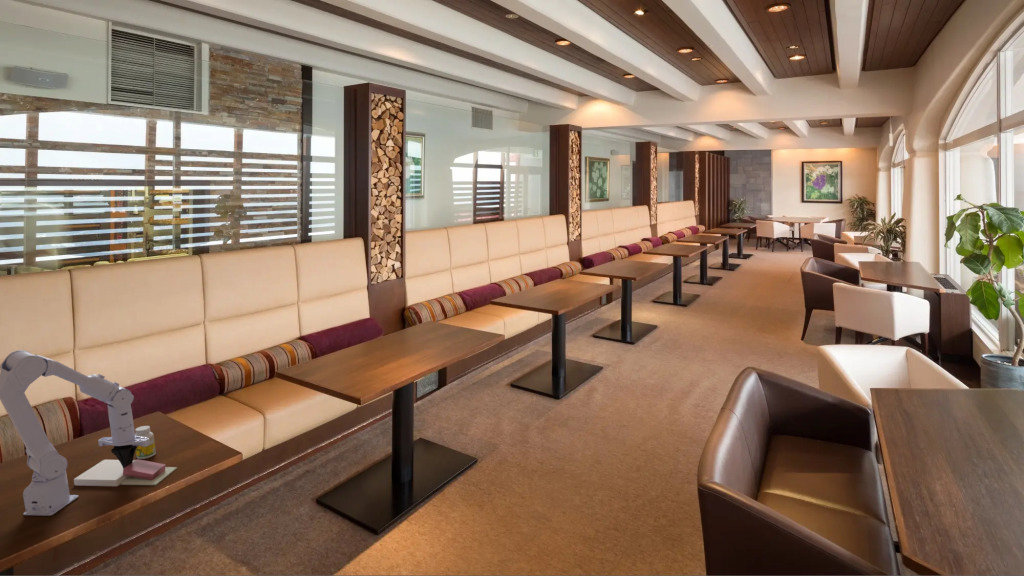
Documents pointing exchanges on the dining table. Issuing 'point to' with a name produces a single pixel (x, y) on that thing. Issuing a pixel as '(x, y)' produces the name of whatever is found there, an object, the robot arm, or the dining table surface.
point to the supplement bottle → (148, 450)
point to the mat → (141, 481)
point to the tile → (144, 469)
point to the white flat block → (102, 474)
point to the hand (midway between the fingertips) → (127, 467)
